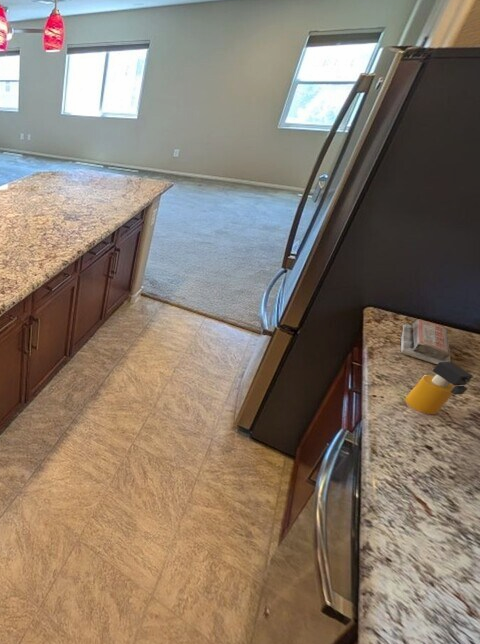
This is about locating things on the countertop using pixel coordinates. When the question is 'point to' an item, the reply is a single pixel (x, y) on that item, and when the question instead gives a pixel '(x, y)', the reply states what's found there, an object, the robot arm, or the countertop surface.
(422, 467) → the countertop surface
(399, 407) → the countertop surface
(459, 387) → the trigger
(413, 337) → the packaged product
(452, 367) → the spray bottle
